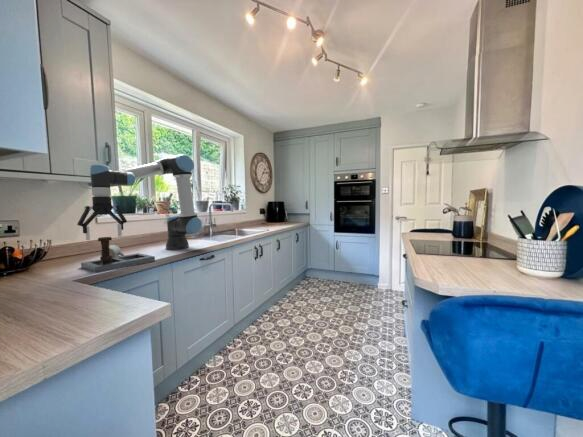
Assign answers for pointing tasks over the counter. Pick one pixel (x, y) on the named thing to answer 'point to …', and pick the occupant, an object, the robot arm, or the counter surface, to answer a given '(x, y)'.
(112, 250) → the ceramic mug
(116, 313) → the counter surface
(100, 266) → the hole plate
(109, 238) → the bolt
